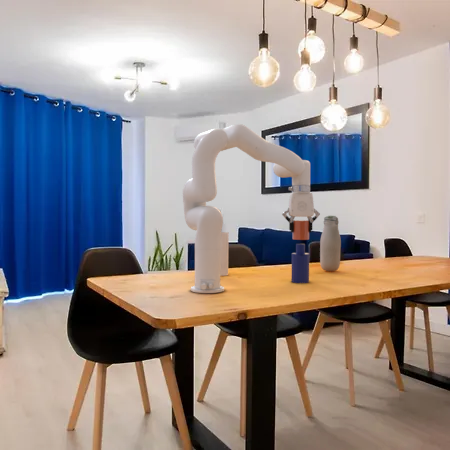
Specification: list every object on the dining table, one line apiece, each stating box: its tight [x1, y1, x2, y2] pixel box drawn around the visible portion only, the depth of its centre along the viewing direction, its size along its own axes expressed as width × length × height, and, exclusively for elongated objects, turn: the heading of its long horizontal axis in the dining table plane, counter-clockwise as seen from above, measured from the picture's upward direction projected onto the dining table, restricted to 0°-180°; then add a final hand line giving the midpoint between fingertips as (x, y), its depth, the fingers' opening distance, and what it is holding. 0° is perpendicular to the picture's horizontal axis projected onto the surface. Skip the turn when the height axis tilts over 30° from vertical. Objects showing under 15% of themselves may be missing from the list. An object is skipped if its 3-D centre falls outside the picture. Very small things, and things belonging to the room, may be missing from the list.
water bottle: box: [291, 243, 310, 284], centre depth 185 cm, size 7×7×16 cm
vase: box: [220, 231, 229, 277], centre depth 208 cm, size 11×7×20 cm, turn 20°
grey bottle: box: [319, 215, 342, 272], centre depth 219 cm, size 10×10×28 cm
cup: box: [292, 219, 310, 241], centre depth 184 cm, size 7×7×8 cm
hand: (300, 231), depth 184 cm, fingers closed on cup, 6 cm apart
